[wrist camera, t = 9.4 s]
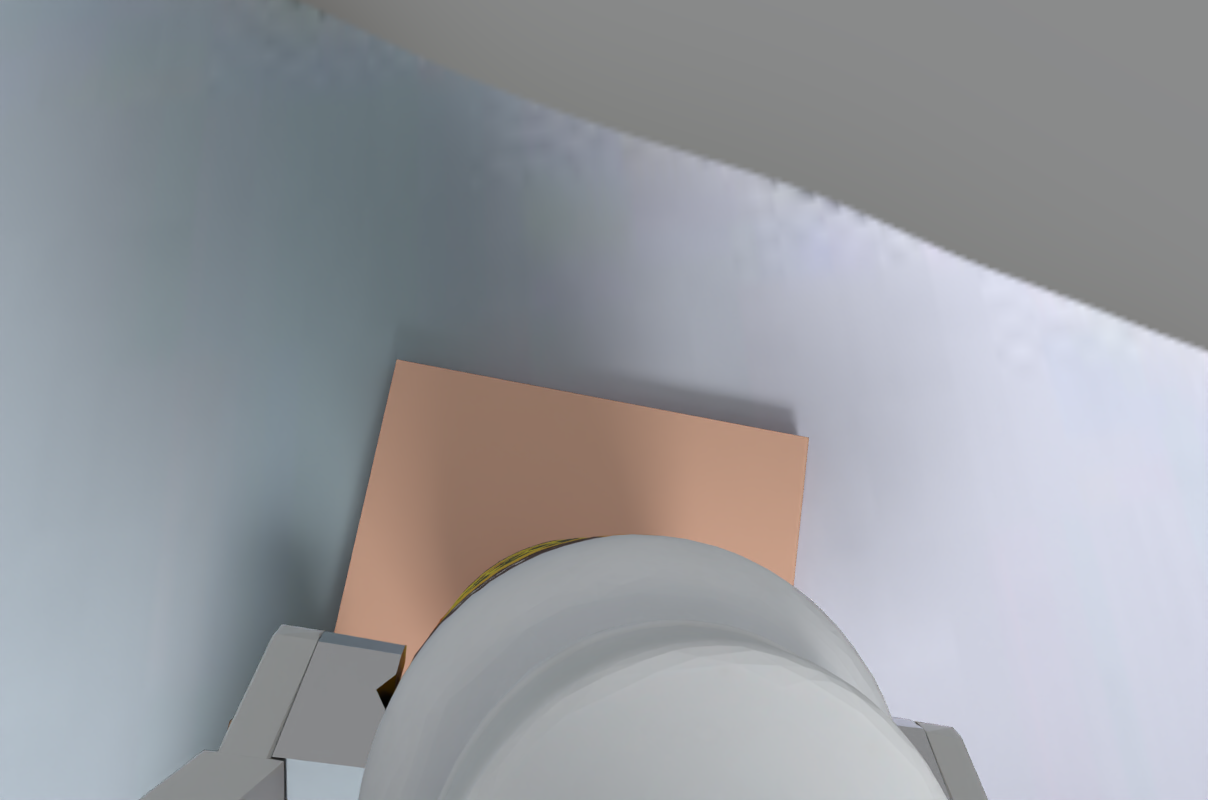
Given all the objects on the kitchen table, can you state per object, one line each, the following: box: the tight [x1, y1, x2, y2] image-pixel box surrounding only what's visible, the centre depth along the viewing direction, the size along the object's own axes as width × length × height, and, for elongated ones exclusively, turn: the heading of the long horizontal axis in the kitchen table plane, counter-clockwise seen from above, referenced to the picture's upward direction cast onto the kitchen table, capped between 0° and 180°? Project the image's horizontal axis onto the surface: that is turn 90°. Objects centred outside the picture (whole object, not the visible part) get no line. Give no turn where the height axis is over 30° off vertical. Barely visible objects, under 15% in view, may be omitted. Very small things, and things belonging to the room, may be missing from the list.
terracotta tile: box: [334, 360, 809, 678], centre depth 17 cm, size 10×7×1 cm
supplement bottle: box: [358, 534, 948, 800], centre depth 10 cm, size 6×6×10 cm
